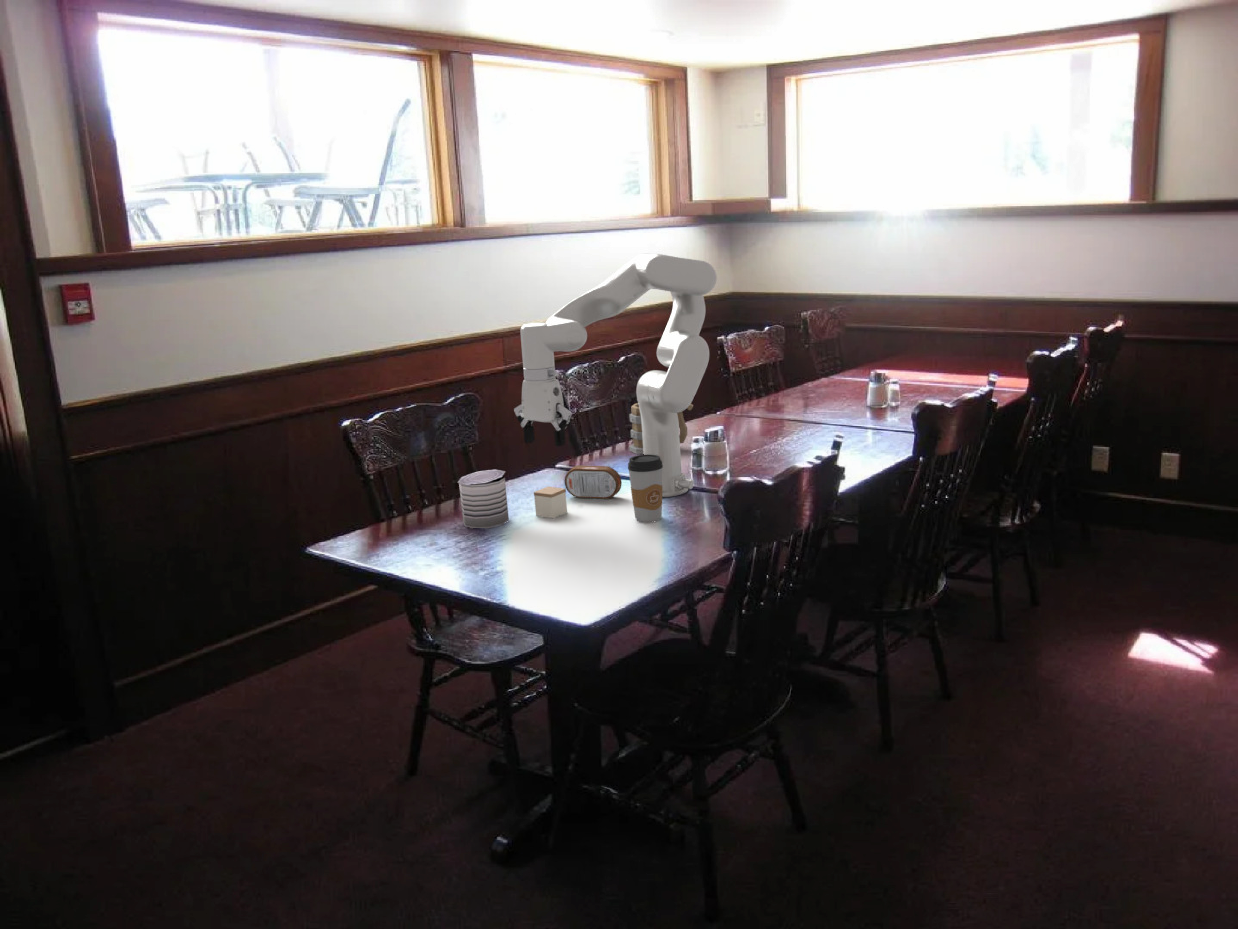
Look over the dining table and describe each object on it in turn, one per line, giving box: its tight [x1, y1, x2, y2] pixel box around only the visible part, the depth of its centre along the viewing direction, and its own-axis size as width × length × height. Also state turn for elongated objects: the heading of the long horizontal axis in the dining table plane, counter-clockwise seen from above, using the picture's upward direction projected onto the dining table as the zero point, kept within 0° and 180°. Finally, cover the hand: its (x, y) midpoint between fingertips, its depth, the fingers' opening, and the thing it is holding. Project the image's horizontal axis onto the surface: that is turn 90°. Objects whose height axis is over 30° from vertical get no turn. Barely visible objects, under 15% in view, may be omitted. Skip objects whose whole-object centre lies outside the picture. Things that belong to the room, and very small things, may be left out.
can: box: [457, 468, 510, 529], centre depth 260 cm, size 11×11×12 cm
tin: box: [564, 464, 623, 500], centre depth 275 cm, size 15×3×8 cm, turn 71°
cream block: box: [533, 486, 568, 519], centre depth 264 cm, size 6×6×6 cm
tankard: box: [628, 402, 694, 455], centre depth 321 cm, size 20×13×15 cm, turn 68°
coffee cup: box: [627, 454, 663, 523], centre depth 253 cm, size 8×8×15 cm
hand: (544, 444), depth 260 cm, fingers open, 9 cm apart
